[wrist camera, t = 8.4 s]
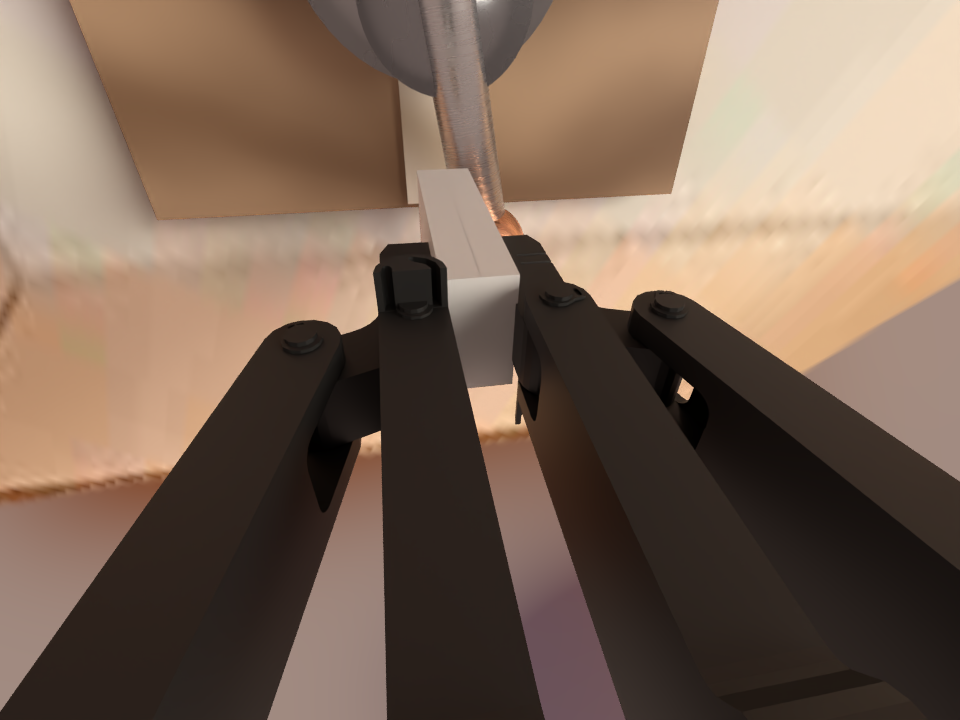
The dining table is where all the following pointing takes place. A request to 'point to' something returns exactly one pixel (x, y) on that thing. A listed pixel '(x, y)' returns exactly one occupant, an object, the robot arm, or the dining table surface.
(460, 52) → the metal ball lever
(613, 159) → the board
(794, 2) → the dining table surface
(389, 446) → the robot arm
